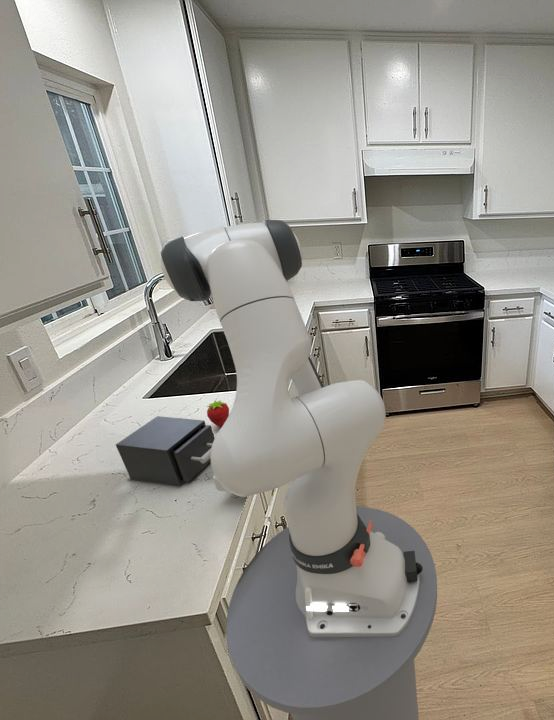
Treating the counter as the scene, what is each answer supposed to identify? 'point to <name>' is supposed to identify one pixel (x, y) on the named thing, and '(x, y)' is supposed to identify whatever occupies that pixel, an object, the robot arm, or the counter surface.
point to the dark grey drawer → (193, 453)
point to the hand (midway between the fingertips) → (222, 453)
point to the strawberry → (218, 413)
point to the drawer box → (156, 449)
